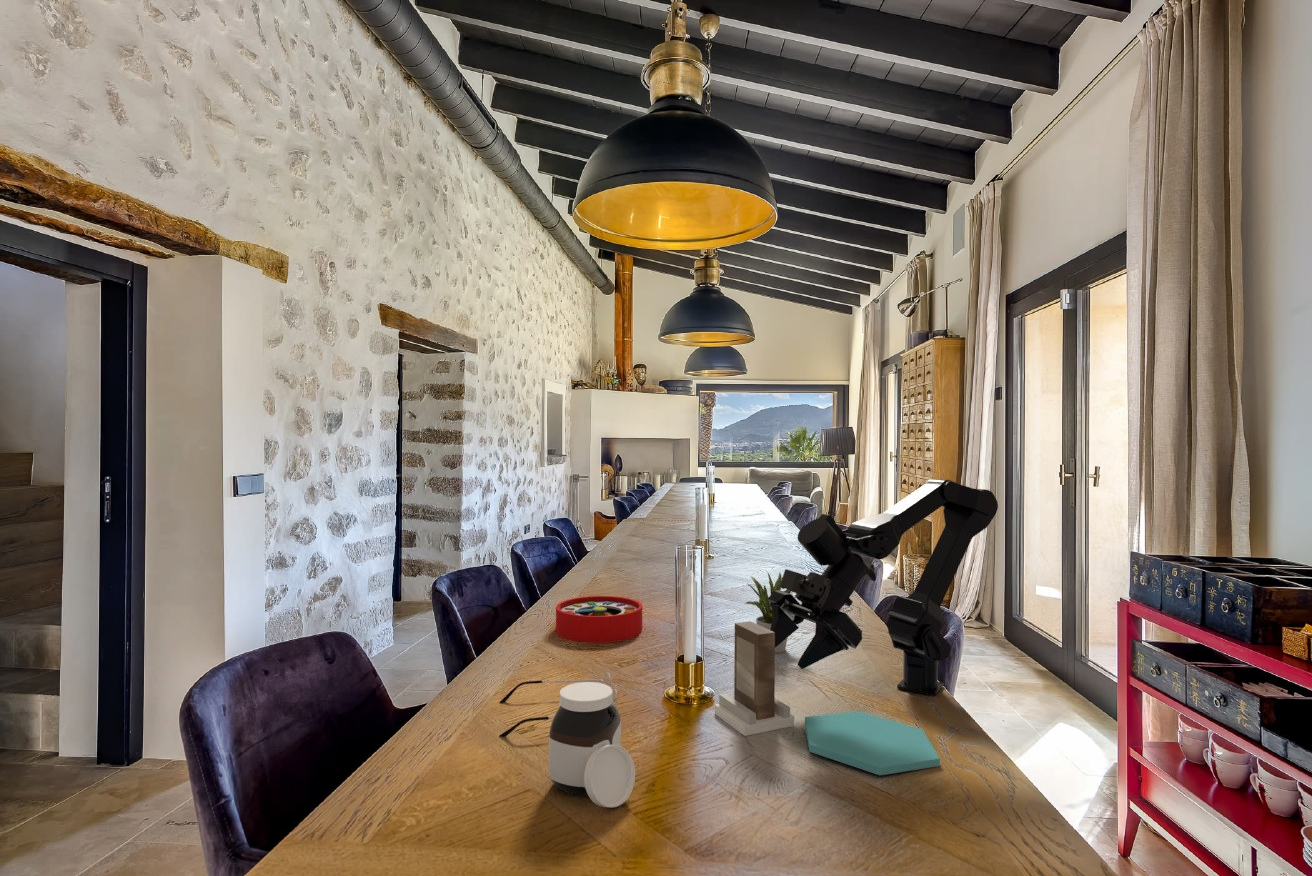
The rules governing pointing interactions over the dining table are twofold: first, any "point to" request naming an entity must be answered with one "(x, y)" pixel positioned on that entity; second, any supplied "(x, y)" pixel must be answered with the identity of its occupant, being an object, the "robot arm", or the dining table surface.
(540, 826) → the dining table surface
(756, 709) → the brown box
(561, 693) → the spread jar
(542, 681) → the eyeglasses
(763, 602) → the house plant
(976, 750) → the dining table surface
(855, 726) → the plaque
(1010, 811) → the dining table surface
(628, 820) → the dining table surface
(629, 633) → the toy clock
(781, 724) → the display stand
